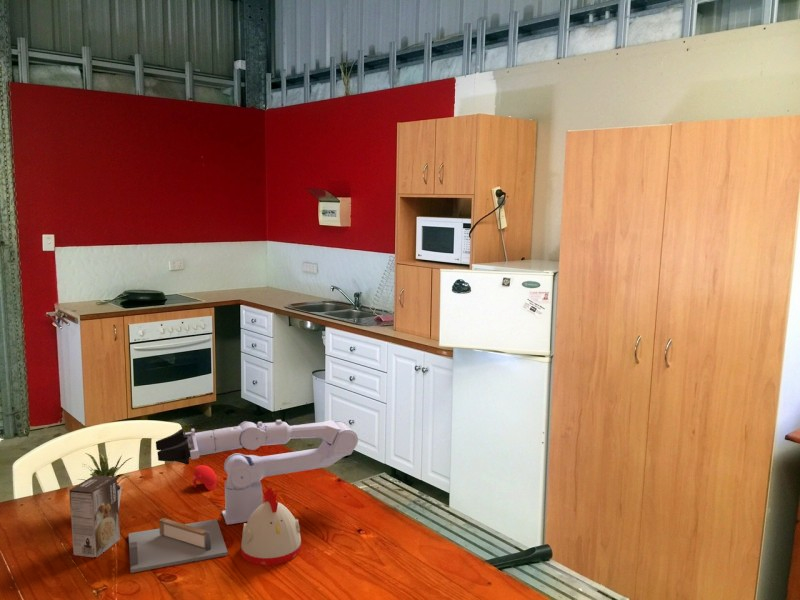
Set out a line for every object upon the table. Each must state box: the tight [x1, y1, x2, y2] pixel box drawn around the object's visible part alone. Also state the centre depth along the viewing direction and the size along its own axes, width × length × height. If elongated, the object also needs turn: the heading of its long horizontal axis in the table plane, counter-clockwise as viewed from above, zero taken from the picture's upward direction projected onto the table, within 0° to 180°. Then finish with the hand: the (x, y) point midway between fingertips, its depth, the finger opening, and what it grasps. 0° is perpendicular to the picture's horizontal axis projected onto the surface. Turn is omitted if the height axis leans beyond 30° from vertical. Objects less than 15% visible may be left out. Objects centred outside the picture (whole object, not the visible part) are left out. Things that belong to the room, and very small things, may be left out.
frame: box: [128, 518, 229, 574], centre depth 162 cm, size 21×18×5 cm
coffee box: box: [69, 475, 121, 558], centre depth 160 cm, size 9×6×16 cm
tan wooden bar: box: [158, 517, 206, 547], centre depth 162 cm, size 14×1×4 cm, turn 63°
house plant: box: [77, 452, 134, 510], centre depth 178 cm, size 14×14×16 cm
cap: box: [192, 464, 218, 491], centre depth 196 cm, size 8×6×6 cm
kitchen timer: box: [240, 487, 302, 566], centre depth 160 cm, size 14×14×15 cm
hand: (156, 450), depth 167 cm, fingers open, 7 cm apart
